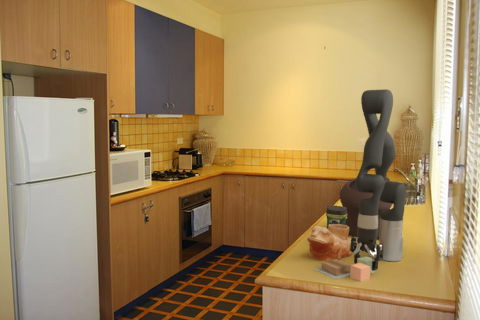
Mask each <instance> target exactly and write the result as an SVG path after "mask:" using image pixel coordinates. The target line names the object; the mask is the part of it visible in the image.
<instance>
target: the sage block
mask: <svg viewBox="0 0 480 320" xmlns="http://www.w3.org/2000/svg"><path fill="white" fill-rule="evenodd" d="M372 261H373V260H372V258H371V257H369V256H363V257H360V258H357V263H362V264H365V265H367V266H370V274H373V273H376V272H377V270H376V271H373V270H372Z"/></svg>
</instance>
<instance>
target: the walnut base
mask: <svg viewBox="0 0 480 320" xmlns="http://www.w3.org/2000/svg"><path fill="white" fill-rule="evenodd" d="M351 265H352V263H351V264H350V263H348V262H345V261H342V260H341V259H340V260H338V259H334V260H330V261H322V262H321V267H320V268H321V270H323V271H325V272H328V273H330V274H332V275H335V276H339V275H343V274H347V273H350V267H351Z"/></svg>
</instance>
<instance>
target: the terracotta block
mask: <svg viewBox="0 0 480 320" xmlns="http://www.w3.org/2000/svg"><path fill="white" fill-rule="evenodd" d="M349 278H350V279H353V280H355V281H358V282H361V283H362V282H364V281H368V280H370V279H371V273H370V266H367V265H365V264H362V263H357V264H355V263H354V264H351V267H350V276H349Z"/></svg>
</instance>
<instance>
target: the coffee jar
mask: <svg viewBox="0 0 480 320" xmlns="http://www.w3.org/2000/svg"><path fill="white" fill-rule="evenodd" d="M325 216H326V222H327V223H326V228H327V229H328V225H330V224H341V225H345V222H346V218H347V208H346V207H343V206H342V205H334V204H333V205H332V204H329V205H328V206H327V207H326V210H325Z"/></svg>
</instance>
